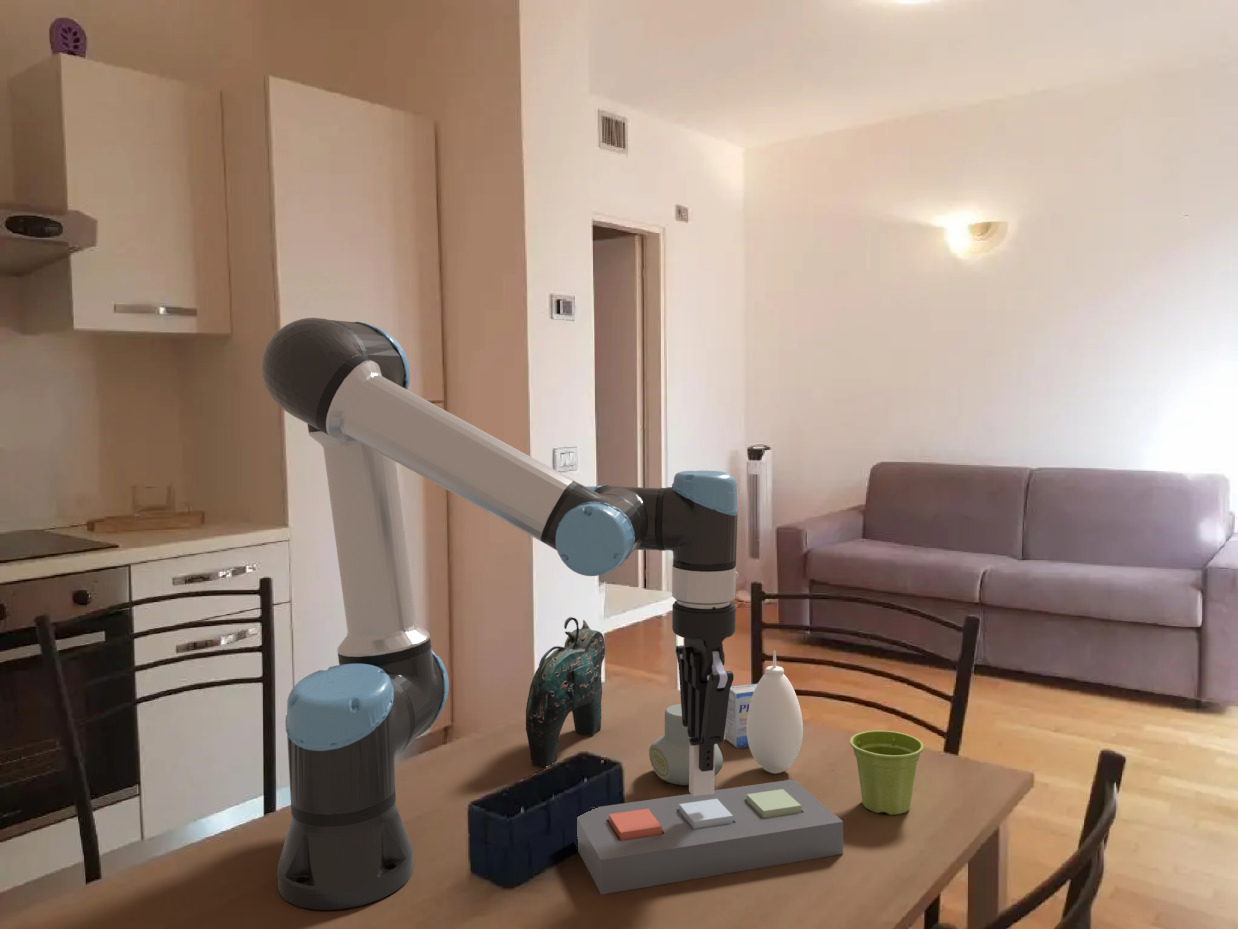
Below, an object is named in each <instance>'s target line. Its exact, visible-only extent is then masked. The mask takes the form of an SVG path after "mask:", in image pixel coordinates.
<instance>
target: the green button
mask: <svg viewBox="0 0 1238 929" xmlns="http://www.w3.org/2000/svg"><path fill="white" fill-rule="evenodd" d="M747 804H748V805H749V806H750V807H751V808H752V809H753V810H754V811H755V812H756V813H757V814H758V815H759V816H760V817H761V818H762V819H764V818H770V817H777V816H783V815H790V814H797V813H801V805H800V804H799V803H798V802H797V801H796V800H795V799H793V798H792V797H791V796H790V795H789V794H788V793H787V792H786V791H785V790H783V789H780V790H773V791H766V792H759V793H752V794H747Z"/></svg>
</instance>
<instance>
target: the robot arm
mask: <svg viewBox="0 0 1238 929" xmlns="http://www.w3.org/2000/svg"><path fill="white" fill-rule="evenodd" d="M261 373H262V378H263V383H264V386H265V388H266V391H267V392H268V394H269V396H270V397H271V399H272V400H273V401H274V402H275V404H277V405H278V406H279V407H280V408H281V409H282V410H284V411H285V412H287V413H288V414H289V415H291V416H292V417H294V418H297V419H298V420H300V421H302V422H304V423H306V424H307V431H308V436H309V437H311V438H312V439H314V440H315V441H316V443H318V444H319V445H320V446H321V447H322V448H323V456H324V461H325V462H324V464H325V469H326V476H327V477H326V478H327V485H328V487H327V488H328V492H329V493H328V494H329V500H330V508H331V516H332V523H333V529H334V539H335V540H334V541H335V545H336V553H337V562H338V569H339V570H338V571H339V576H340V577H339V578H340V582H341V583H340V585H341V592H342V600H343V605H344V606H343V607H344V614H345V621H346V630H347V633H346V636H345V638H344V639H343V640H342V642H341V643H339V645H338V647H337V649H336V651H337V658H338V665H337V664H336V665H333V666H330V667H328V668H327V669H326V670H325V669H324V670H323V669H321V670H317V671H314V672H313V673H310V674H308V675H307V676H305V677H303V678H302V679H301V680H299V681H298V682H297V683H296V684H295V685H294V686H293V687H292V689H291V690H290V692H289V694H288V698H287V700H286V701H287V702H286V703H287V704H286V715H285V732H286V739H287V741H286V742H287V753H288V754H287V757H288V758H287V760H288V775H289V794H290V795H289V796H290V798H289V799H290V814H291V816H290V817H291V818H290V822H289V825H288V826H289V827H288V830H287V833H286V836H285V841H284V843H283V847H282V849H281V853H280V856H279V861H278V864H277V871H276V872H277V889H278V893H279V895H280V896H281V897H282V898H283V899H284V901H286V902H288V903H289V904H292V905H294V906H296V907H299V908H303V909H310V910H315V911H316V910H318V911H319V910H321V911H331V910H332V911H333V910H335V911H336V910H344V909H345V910H346V909H351V908H355V907H359V906H364V905H367V904H371V903H373V902H376V901H379V900H381V899H384V898H386V897H388V896H389V895H391V894H393V893H396V891H398V890H399V889H401V888H402V887H403V886H404V885H405V884H406V883H407V882H408V881H409V879H410V878H411V876H412V874H413V872H414V850H413V845H412V842H411V839H410V837H409V834H408V832H407V829H406V827H405V823H404V822H403V819H402V816H401V814H400V811H399V809H398V806H397V797H396V766H395V764H396V762H395V760H396V759H397V757H398V756H399V755H400V754H401V753H402V752H403V751H404V750H406V749H407V748H408V746H410V745H411V744H412V743H413V742H414V741H415V740H416V739H417V738H420V737H421V735H423V734H425V733H426V732H427V731H428V730H429V729H430V728H431V727H432V725H433V724H435V721H437V719H438V717H439V716H440V714H441V713H442V711H443V709H444V708H445V705H446V702H447V699H448V696H449V695H448V694H449V689H450V688H449V686H450V685H449V675H448V672H447V668H446V667H445V664H444V662H443V660H442V659H441V657H440V656H438V655H436V653H435V652H434V650H433V649H432V644H431V643H432V642H431V635H430V632H429V631H427V630H426V629H425V628H423V627H422V626H421V625H420V624H418V622H417V619H416V611H415V604H414V603H415V602H414V595H413V589H412V588H413V586H412V578H411V573H410V572H411V571H410V570H411V569H410V564H409V554H408V548H407V539H406V532H405V524H404V514H403V509H402V500H401V492H400V485H399V478H398V477H399V476H398V470H397V464H400V465H401V466H403V467H405V468H407V469H408V470H410V471H412V472H415V473H416V474H417V475H419V476H421V477H423V478H425V479H427V480H428V481H430V482H432V483H433V484H436V485H438V486H439V487H442V488H444V490H447V491H448V492H449V493H453V494H454V495H456V496H457V497H460V498H461V499H464V500H465V501H467V502H469V503H471V504H472V505H475V506H476V507H478V508H480V509H482V510H484V512H487V513H488V514H490V515H492V516H494V517H496V518H497V519H499V520H501V521H503V522H505V523H507V524H508V525H510V526H512V527H514V528H516V529H518V530H520V531H521V532H523V533H525V534H527V535H529V536H531V537H532V538H533V539H535V540H538V541H540V542H542V543H543V544H545V545H547V546H548V547H550V548H552V549H553V550H555V551H557V554H558V556H559V558H560V560H561V561H562V562H563V564H565V566H566V567H567V568H568V569H570V570H571V571H572V572H574V573H576V574H578V575H582V576H584V577H585V576H586V577H597V576H602V575H605V574H607V573H609V572H612V571H615V570H616V569H618V568H619V567H621V566H622V565H623V564H624V562H625V561H626V560H628V559H629V558H630V556H631V555H632V553H633V552H634V551H659V552H661V551H664V552H666V551H671V552H672V556H673V558H672V567H671V568H672V569H671V572H672V573H671V576H672V577H671V578H672V580H671V596H672V597H673V599H675V601H674V602H673V604H672V608H671V609H672V613H671V614H672V616H671V618H672V619H671V620H672V622H671V623H672V626H671V629H672V632H673V633H674V634H675V635H677V637H680V638H683V645H677V646H675V654H676V659H677V663H678V676H679V677H678V680H679V692H680V693H679V694H680V704H681V709H682V723H683V726H684V727H688V728H687V733H688V736H689V737H691V739H689V741H690V752H689V785H688V792H689V794H692V795H693V796H700V795H708V794H714V791H715V783H716V782H715V781H716V780H715V778H716V775H715V744H717V745H718V744H719V745H720V744H723V743H724V740H725V725H726V717H727V709H728V701H729V693H730V688H731V686H733V682H734V678H735V677H734V675H735V674H734V672H733V671H732V670H725V668H724V666H725V662H726V660H725V659H726V658H725V656H726V655H725V651H724V644H723V642H724V641H725V639H727V638H730V637H732V636H733V635H735V633H736V622H737V621H736V620H737V618H736V610H737V608H736V605H735V603H734V602H733V600H735V599H736V592H737V591H736V589H737V588H736V587H737V586H736V584H737V582H736V581H737V580H738V579H739V578H740V577H739V576H740V574H739V572H737V570H736V569H737V545H738V543H737V542H738V517H739V515H738V512H739V510H738V496H737V495H738V493H737V492H738V490H737V481H736V478H734V476H733V475H732V474H731V473H729V472H724V471H719V470H718V471H716V470H683V471H679V472H677V473H676V474H675V475H674V476H673V482H672V484H671V486H667V487H642V486H641V487H639V486H636V487H635V486H612V485H609V484H602V485H601V484H600V485H594V486H593V485H592V486H585V485H583V484H581V483H579V482H577V481H575V479H573V478H571V477H570V476H567V475H565V474H563V473H561V472H559V471H557V469H554V468H552V467H550V466H548V465H546V464H545V463H543V462H542V461H539V460H537V459H536V458H534V457H532V456H531V455H528V454H527V453H524V452H522V451H521V450H519V449H517V448H516V447H513V446H511V445H510V444H507V443H506V442H505V441H503V440H500V439H499V438H497V437H495V436H493V435H492V434H490V433H488V432H486V431H485V430H482V429H480V428H478V427H477V426H475V425H473V424H471V423H470V422H467V421H466V420H464V419H462V418H460V417H458V416H456V415H455V414H453V413H451V412H449V411H446V410H445V409H444V408H441V407H439V406H438V405H436V404H434V403H432V402H430V401H428V400H427V399H425V398H423V397H421V396H419V395H418V394H416V393H413V392H412V391H410V390H408V389H409V386H410V382H411V381H410V380H411V367H410V362H409V359H408V357H407V354H406V352H405V350H404V349H403V347H402V346H401V344H400V343H399V342H398V341H397V339H396V338H394V337H393V336H392V335H391V334H389V333H388V332H387V331H385V330H383V329H381V328H379V327H375V326H374V325H371V324H369V323H366V322H361V321H343V320H335V319H334V320H332V319H327V318H318V317H305V318H301V319H297V320H294V321H291V322H290V323H287V324H285V326H282V327H281V328H280V329H278V330H277V331H276V332H275V333H274V335H273V336H272V337H271V338H270V339H269V341H268V343H267V344H266V347H265V349H264V352H263V355H262V361H261Z"/></svg>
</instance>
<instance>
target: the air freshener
mask: <svg viewBox="0 0 1238 929" xmlns="http://www.w3.org/2000/svg"><path fill="white" fill-rule="evenodd" d="M687 728H688V727H684V726H683V723H682V709H681V703H677V704H676V703H675V704H673V705H669V706H668V707H667V708H666V709H665V710H664V735H661V736H660V737H658V738H657V739H656V740H655V741H654V742H652V743H651V745H650V746H649V749H648V755H649V760H650V765H651V766H652V769H653V771H654V773H655V774H656V775H657V776H658V778H660V779H661V780H663V781H665V782H667V783H669V784H672V785H677V786H678V785H679V786H689V752H690V741H689V739H691V737H689V736H688V733H687ZM721 751H722V750H721V749H720V747H719V745H718V744H715V776H717V775H718V774H719V772H720V771H721V770H722V769H723V765H724V758H723V754H722V752H721Z"/></svg>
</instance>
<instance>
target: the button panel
mask: <svg viewBox="0 0 1238 929" xmlns="http://www.w3.org/2000/svg"><path fill="white" fill-rule="evenodd" d="M780 789H783V790H785V791H786V792H787V793H788V794H789V795H790V796H791V797H792V798H793V799H795V800H796V801H797V802H798V803H799V804H800V805H801V813H797V814H790V815H783V816H777V817H770V818H764V819H762V818H761V817H760V816H759V815H758V814H757V813H756V812H755V811H754V810H753V809H752V808H751V807H750V806H749V805H748V804H747V794H752V793H759V792H766V791H773V790H780ZM711 799H718V800H719V801H720V802H721V803H722V805H723V806H724V807H725V808H726V809H727V810H728V811H729V812H730V813H731V814H732V815H733V823H731V824H725V825H718V826H712V827H705V828H699V829H692V828H691V827H690V826H689V825H688V824H687V822H686V821H685V820H684V819H683V817H682V816H681V815H680V814H679V804H683V803H690V802H697V801H704V800H711ZM597 807H598V808H595V807H594V808H595V809H592V810H591V811H588V812H586V813H584V814H582V815H580V816H578V817H577V837H578V838H577V839H578V850H577V851H578V853H579V855H580V857H581V859H582V860H583V863H584V864H585V866H586V869H587V870H588V872H589V874H590V875H591V878H592V880H593V882H594V884H595V886H596V888H597V889H598V891H599V894H600V895H606V894H607V895H609V894H613V893H619V892H626V891H631V890H635V889H636V890H638V889H643V888H649V887H655V886H660V885H665V884H672V883H677V882H683V881H684V882H686V881H690V880H695V879H696V880H697V879H702V878H708V877H709V878H710V877H714V876H721V875H725V874H732V873H737V872H744V871H751V870H755V869H756V870H757V869H760V868H761V869H762V868H767V867H772V866H779V865H786V864H790V863H797V862H803V861H809V860H813V859H814V860H815V859H821V858H826V857H833V856H838V855H843V854H844V821H843V820H842V818H839V816H837V815H836V814H835V813H834V812H833V811H831V810H830V809H829V808H828V807H827V806H826V805H824V804H823V803H822V802H821V801H820V800H818V798H816V797H815V796H814V795H812V793H810V792H809V791H808V790H807V789H806V788H804V787H803V785H801V784H800V783H799V782H798V781H796V780H795V779H787V780H786V779H785V780H779V781H773V782H765V783H764V782H763V783H758V784H751V785H743V786H737V787H729V788H723V789H716V790H715V789H714V794H708V795H700V796H693V795H692V794H691V793H689V794H688V793H687V794H681V795H674V796H668V797H667V796H665V797H660V798H659V797H658V798H652V799H645V800H637V801H632V802H624V803H617V804H611V805H603V806H597ZM642 809H649V810H650V812H651V813H652V814H653V816H654V817H655V818H656V820H657V821H658V822H659V824H660V825H661V826H662V834H660V835H653V836H646V837H640V838H633V839H627V840H620V841H619V840H618V838H617V837H616V835H615V834H614V832H613V830H612V829H611V827H610V826H609V814H614V813H621V812H628V811H635V810H642Z"/></svg>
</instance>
